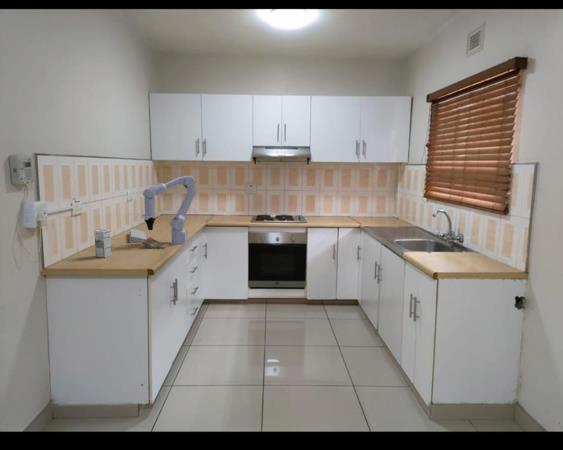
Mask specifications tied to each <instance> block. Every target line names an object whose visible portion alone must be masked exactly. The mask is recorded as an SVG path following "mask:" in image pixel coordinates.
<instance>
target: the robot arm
mask: <svg viewBox="0 0 563 450" xmlns="http://www.w3.org/2000/svg"><path fill="white" fill-rule="evenodd" d="M196 182H197V181H196V180H195V178H194V177H193V176H192V175H183V176H179V177H177V178H174V179H173V180H170V181H168V182H166V183H163V182H161V183H160V182H157V183H156V185H153V186H150V187H149V188H148V187H147V188H145V189H144V190H143V193H142V195H143V197H144V214H143V215H142V217H143V218H144V222H145V224H146V227H147V230H148V231H153V229H154V224H155V221H156V214H155V213H156V212H155V211H156V210H155V197H156V196H159V195H161V194H163V193H165V192H166V191H167V189H170V188H172V187H175V186H177V185H183V186H184V188H185V190H186V194H184V195H185V196H184V198H183V201H182V202H181V205H180V207H179V209H178V211H177V213H176V215H175V216H174V217H173V219H171V220H170V222H169V223H170V224H169V225H170V227H171V230H170V231H171V233H170V234H171V242H169V243H170V244H171V245H175V246H176V245H178V246H179V245H183V246H184V245H186V244H187V243H188V233H187V232H188V231H187V230H185V229H184V227H185V220H186V215H187V214H188V211H189V209H190V206H191V204H192V201H193V200H194V197H195V195H196V193H197V188H196V187H197V186H196Z"/></svg>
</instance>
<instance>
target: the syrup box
mask: <svg viewBox="0 0 563 450" xmlns="http://www.w3.org/2000/svg"><path fill="white" fill-rule="evenodd" d="M93 232H94V247H95V258H104V259H105V258H108V257H111V256H112V248H111V247H112V245H111V230H110V229H97V230H94V231H93Z"/></svg>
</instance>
